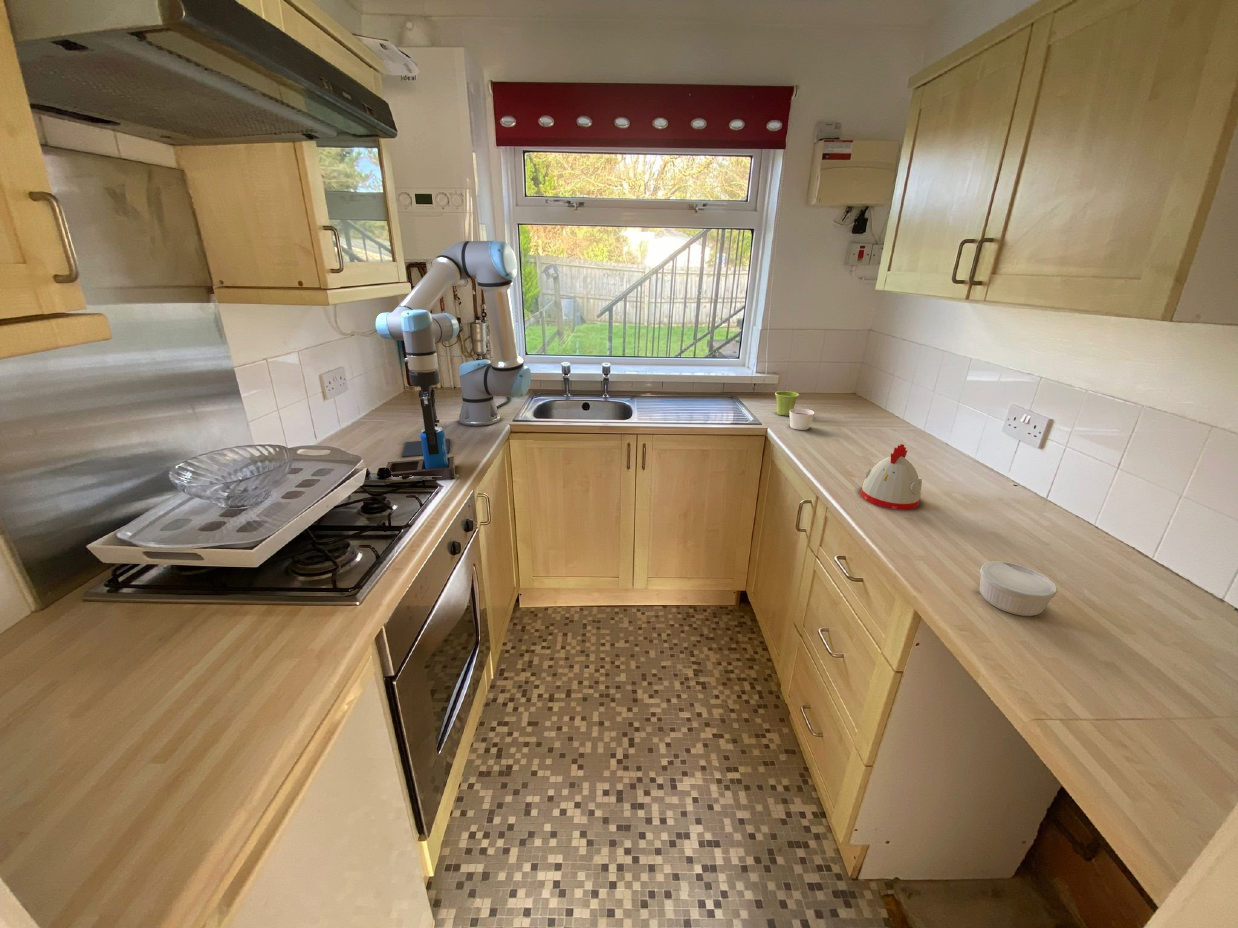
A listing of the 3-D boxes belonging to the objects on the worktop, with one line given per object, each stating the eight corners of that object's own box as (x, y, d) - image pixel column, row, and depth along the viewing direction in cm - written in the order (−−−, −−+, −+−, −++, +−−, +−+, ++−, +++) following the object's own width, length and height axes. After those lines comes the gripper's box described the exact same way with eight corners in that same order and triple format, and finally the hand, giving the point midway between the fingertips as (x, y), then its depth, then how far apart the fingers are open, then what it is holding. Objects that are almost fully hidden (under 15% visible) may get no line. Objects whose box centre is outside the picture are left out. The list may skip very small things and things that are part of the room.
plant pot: (767, 412, 213) (770, 392, 210) (785, 410, 217) (787, 390, 214) (783, 418, 205) (786, 397, 202) (801, 415, 209) (804, 395, 206)
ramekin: (1050, 600, 95) (1059, 576, 93) (1045, 629, 87) (1055, 604, 85) (979, 576, 102) (986, 554, 100) (968, 602, 94) (976, 578, 92)
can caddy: (389, 472, 149) (387, 461, 148) (455, 466, 154) (453, 456, 153) (385, 485, 140) (383, 474, 139) (454, 478, 145) (453, 468, 144)
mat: (406, 443, 173) (406, 442, 173) (449, 439, 177) (449, 438, 177) (402, 457, 161) (401, 456, 160) (448, 453, 164) (448, 452, 164)
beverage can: (441, 473, 145) (436, 434, 140) (421, 472, 146) (415, 432, 141) (453, 465, 150) (448, 426, 146) (433, 463, 152) (427, 425, 147)
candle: (810, 425, 197) (813, 409, 195) (813, 432, 189) (815, 415, 186) (786, 423, 199) (788, 407, 197) (787, 430, 191) (790, 413, 188)
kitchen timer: (851, 496, 137) (861, 443, 131) (875, 483, 145) (885, 433, 139) (905, 514, 127) (918, 458, 121) (927, 499, 135) (941, 446, 129)
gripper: (411, 363, 145) (423, 439, 154) (405, 378, 128) (418, 463, 136) (439, 362, 147) (449, 437, 156) (436, 376, 129) (447, 460, 138)
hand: (434, 449), depth 146 cm, fingers closed on beverage can, 6 cm apart
